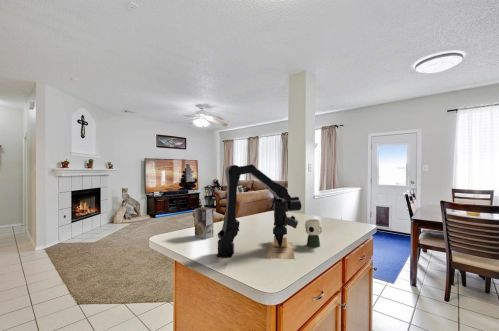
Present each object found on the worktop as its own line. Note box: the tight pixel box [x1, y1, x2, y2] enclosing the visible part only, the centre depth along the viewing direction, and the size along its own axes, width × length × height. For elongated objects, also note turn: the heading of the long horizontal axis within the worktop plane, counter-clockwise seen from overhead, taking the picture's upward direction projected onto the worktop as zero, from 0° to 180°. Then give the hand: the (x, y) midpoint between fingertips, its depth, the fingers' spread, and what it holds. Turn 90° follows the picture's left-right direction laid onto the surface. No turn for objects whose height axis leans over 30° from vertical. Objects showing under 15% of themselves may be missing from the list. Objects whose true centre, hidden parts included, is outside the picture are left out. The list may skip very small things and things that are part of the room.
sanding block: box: [273, 235, 288, 247], centre depth 108 cm, size 6×4×4 cm, turn 82°
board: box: [265, 241, 296, 260], centre depth 104 cm, size 12×22×1 cm, turn 172°
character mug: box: [304, 218, 323, 248], centre depth 110 cm, size 11×7×13 cm, turn 29°
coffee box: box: [194, 206, 214, 240], centre depth 129 cm, size 9×6×16 cm
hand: (280, 244), depth 108 cm, fingers closed on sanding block, 4 cm apart
